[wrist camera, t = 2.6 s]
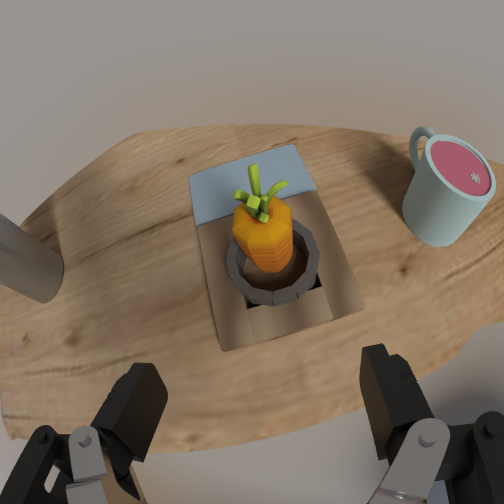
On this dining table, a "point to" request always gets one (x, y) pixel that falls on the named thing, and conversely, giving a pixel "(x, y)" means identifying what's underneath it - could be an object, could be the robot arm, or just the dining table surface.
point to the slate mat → (247, 182)
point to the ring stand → (284, 300)
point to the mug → (445, 188)
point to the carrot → (263, 225)
